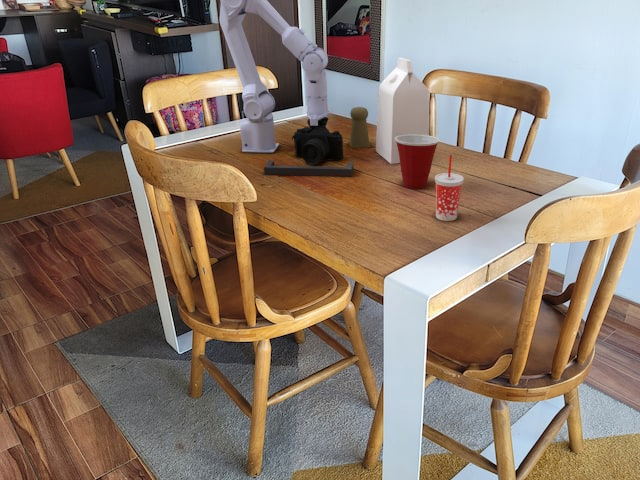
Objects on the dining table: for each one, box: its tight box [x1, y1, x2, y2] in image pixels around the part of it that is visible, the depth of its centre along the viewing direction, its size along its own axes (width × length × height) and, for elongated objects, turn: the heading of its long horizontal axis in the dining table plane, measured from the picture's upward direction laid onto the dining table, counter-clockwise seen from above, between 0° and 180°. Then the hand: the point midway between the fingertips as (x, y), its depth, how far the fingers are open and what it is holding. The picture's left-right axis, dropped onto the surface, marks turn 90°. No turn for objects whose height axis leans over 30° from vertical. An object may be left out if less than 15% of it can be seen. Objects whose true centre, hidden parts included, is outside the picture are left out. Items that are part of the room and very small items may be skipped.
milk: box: [375, 56, 430, 165], centre depth 156 cm, size 12×12×26 cm
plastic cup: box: [395, 134, 440, 190], centre depth 140 cm, size 11×11×12 cm
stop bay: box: [263, 159, 355, 177], centre depth 151 cm, size 23×6×2 cm, turn 85°
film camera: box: [291, 124, 344, 165], centre depth 157 cm, size 15×10×9 cm, turn 71°
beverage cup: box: [434, 154, 465, 222], centre depth 122 cm, size 6×6×14 cm
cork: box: [349, 106, 371, 149], centre depth 169 cm, size 6×6×11 cm
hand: (319, 143), depth 165 cm, fingers closed
